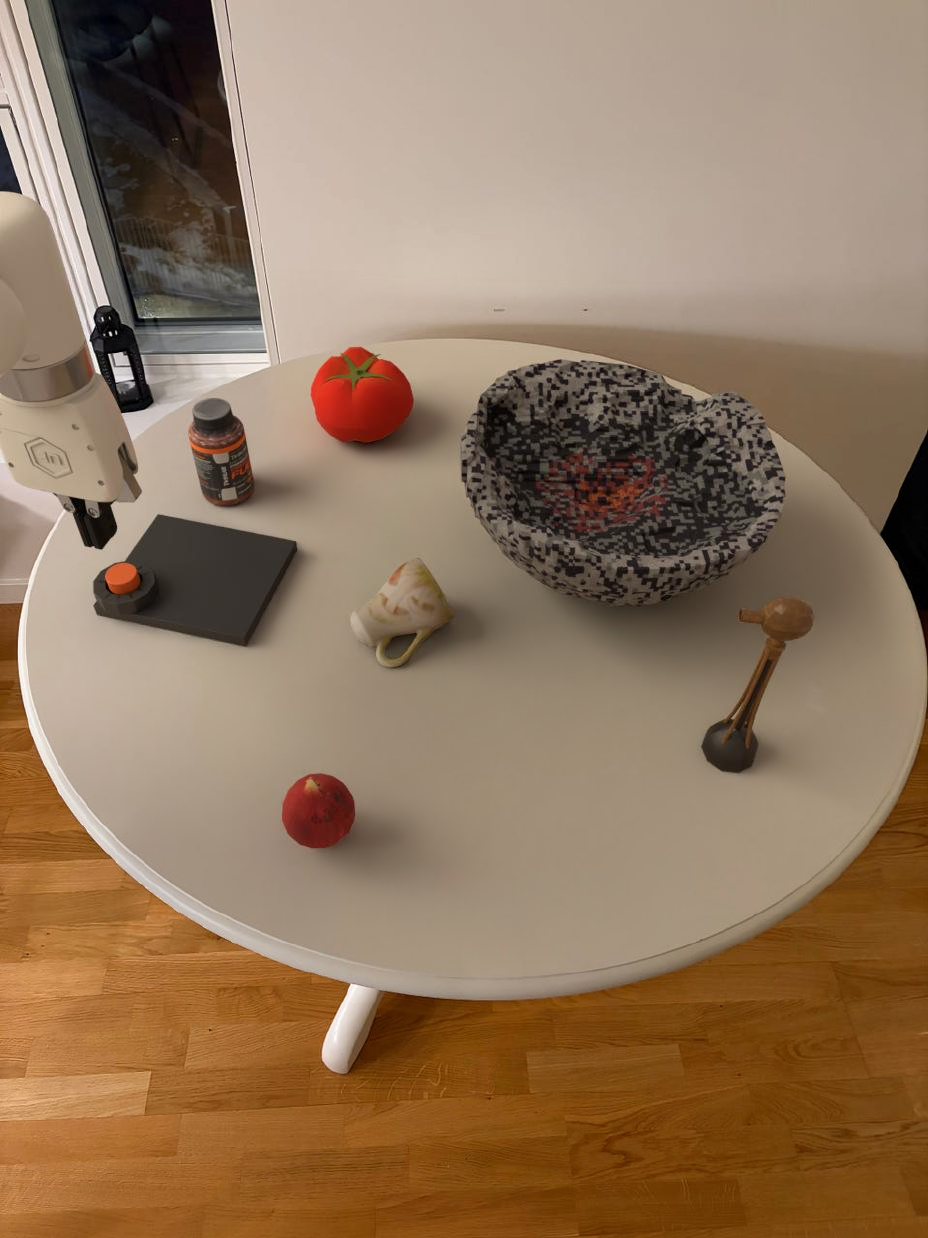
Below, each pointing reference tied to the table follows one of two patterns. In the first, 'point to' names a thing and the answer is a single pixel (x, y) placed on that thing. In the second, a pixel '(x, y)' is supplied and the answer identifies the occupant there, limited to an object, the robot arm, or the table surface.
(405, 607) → the mug
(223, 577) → the scale
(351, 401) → the tomato
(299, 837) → the onion
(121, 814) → the table surface
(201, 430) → the supplement bottle
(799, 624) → the wooden tabletop sculpture
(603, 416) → the bowl
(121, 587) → the button
